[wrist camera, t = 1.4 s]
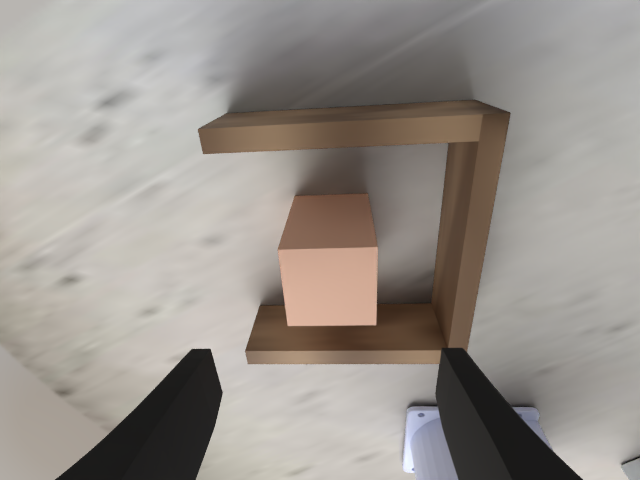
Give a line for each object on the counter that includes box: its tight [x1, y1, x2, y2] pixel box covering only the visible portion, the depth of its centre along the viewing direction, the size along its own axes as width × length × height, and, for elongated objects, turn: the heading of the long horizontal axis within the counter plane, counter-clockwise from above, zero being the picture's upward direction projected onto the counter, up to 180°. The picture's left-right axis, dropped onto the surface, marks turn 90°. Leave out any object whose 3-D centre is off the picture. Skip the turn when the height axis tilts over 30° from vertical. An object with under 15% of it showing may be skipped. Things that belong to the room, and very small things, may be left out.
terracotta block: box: [278, 193, 378, 326], centre depth 18 cm, size 4×4×6 cm
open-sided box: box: [198, 100, 510, 364], centre depth 18 cm, size 12×13×4 cm
